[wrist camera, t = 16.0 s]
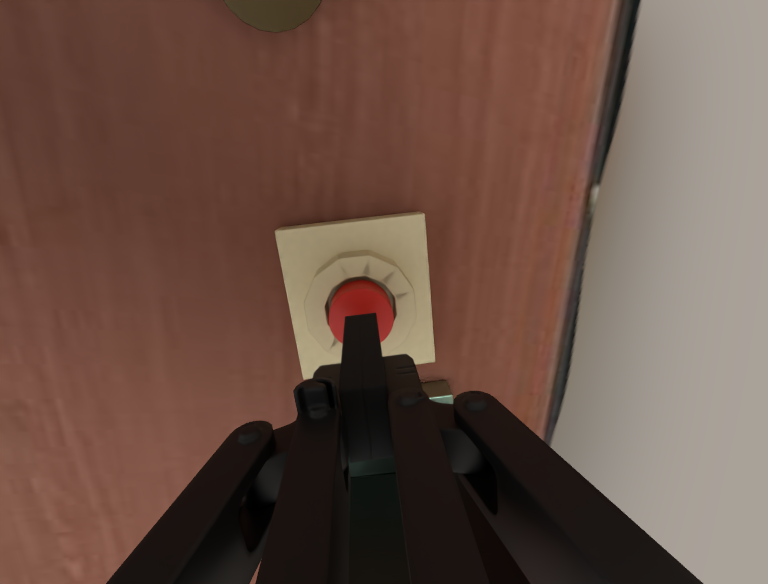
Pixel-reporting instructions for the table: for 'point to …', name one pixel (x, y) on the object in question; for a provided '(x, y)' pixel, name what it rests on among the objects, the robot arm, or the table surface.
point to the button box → (358, 262)
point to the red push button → (360, 307)
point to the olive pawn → (273, 13)
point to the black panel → (387, 543)
